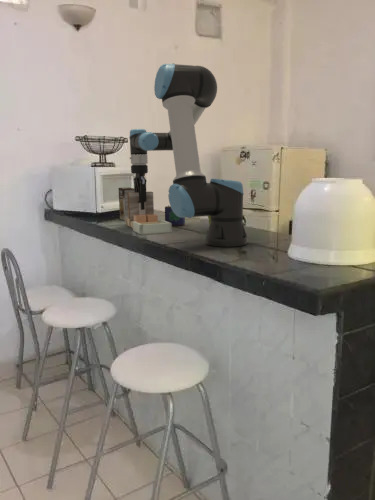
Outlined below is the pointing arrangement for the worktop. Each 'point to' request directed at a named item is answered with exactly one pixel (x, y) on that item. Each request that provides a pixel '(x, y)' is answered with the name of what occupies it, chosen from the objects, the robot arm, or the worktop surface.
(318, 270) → the worktop surface
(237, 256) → the worktop surface
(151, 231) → the tray
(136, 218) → the tile
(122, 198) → the coffee box
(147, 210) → the tan block
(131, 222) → the board
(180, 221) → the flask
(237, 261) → the worktop surface
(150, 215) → the tile
